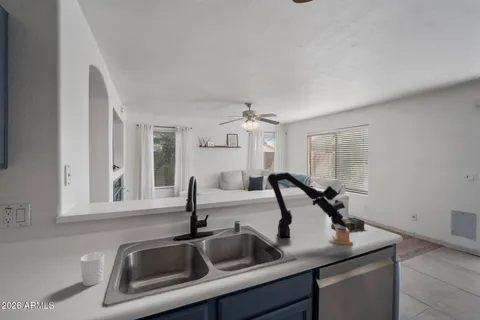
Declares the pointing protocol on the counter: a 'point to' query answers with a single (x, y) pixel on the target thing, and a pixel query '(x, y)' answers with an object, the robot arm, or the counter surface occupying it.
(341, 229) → the jack stand column
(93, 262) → the white cup
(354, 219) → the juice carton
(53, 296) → the counter surface
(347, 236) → the jack stand base
